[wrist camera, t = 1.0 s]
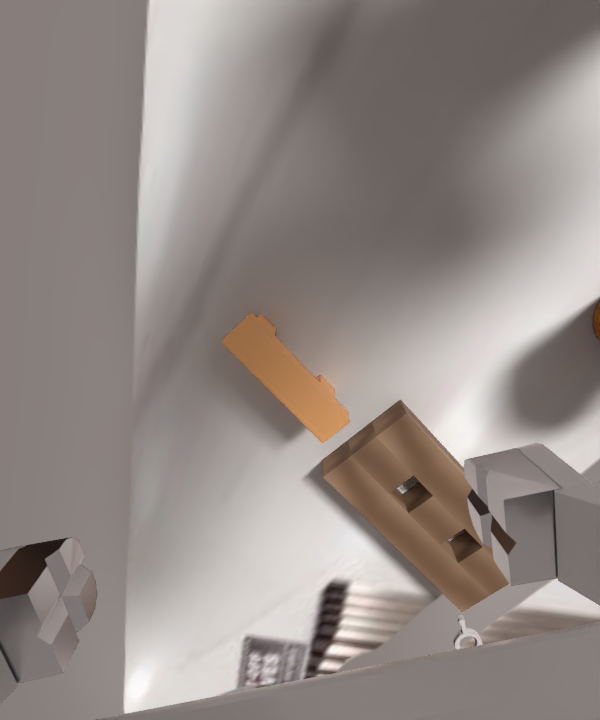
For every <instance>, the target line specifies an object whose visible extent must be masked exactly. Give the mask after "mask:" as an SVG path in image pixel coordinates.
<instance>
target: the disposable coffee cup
mask: <svg viewBox="0 0 600 720" xmlns="http://www.w3.org/2000/svg"><path fill="white" fill-rule="evenodd" d="M593 328H594V332H595V334H596V336H597V337H598V339H599V340H600V302H599V303H598V305H597V307H596V310H595V312H594V316H593Z"/></svg>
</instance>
